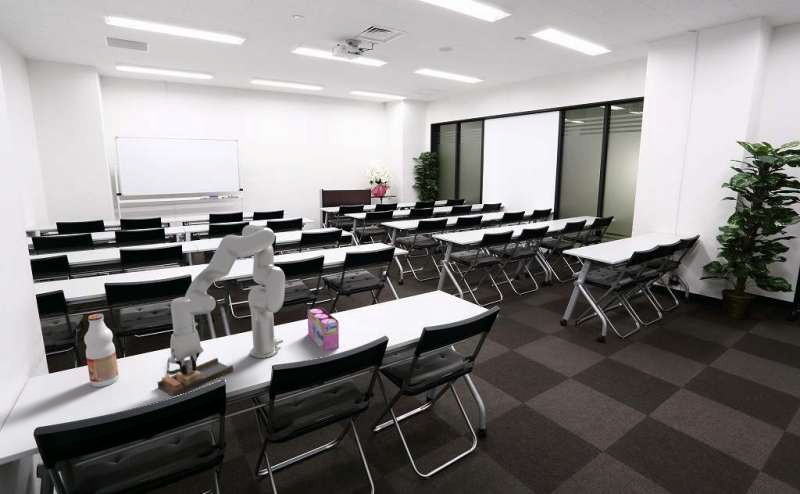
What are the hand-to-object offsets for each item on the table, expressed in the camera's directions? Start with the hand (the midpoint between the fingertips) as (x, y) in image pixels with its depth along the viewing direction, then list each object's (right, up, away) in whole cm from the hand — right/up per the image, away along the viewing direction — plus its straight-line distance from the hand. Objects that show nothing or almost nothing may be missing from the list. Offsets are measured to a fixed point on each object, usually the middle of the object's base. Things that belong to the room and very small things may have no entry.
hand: (188, 371), depth 166 cm
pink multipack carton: (+46, +3, +41) cm, 62 cm away
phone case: (-12, -2, +16) cm, 20 cm away
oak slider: (0, -4, +1) cm, 4 cm away
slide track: (+2, -4, +4) cm, 6 cm away
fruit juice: (-34, -4, +1) cm, 34 cm away
